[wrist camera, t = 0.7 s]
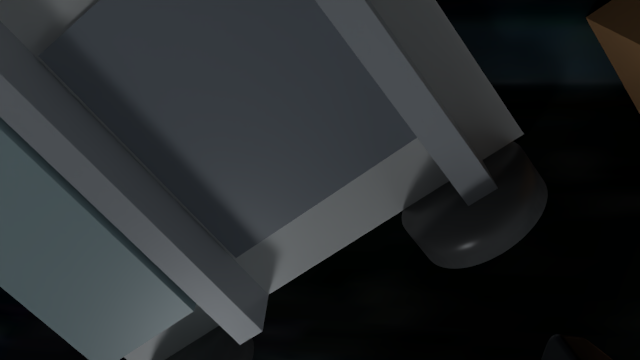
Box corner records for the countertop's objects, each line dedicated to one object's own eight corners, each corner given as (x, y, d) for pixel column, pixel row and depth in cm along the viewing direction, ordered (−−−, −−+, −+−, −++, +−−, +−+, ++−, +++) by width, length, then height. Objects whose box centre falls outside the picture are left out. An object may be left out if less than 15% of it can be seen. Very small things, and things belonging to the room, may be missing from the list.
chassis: (531, 147, 20) (578, 210, 16) (176, 367, 25) (147, 455, 21) (230, -308, 15) (193, -378, 11) (-147, 82, 20) (-266, 130, 16)
